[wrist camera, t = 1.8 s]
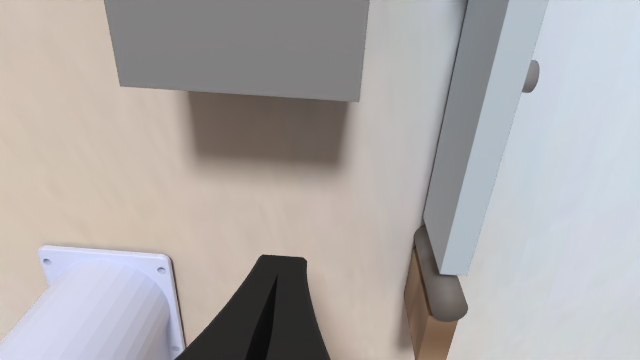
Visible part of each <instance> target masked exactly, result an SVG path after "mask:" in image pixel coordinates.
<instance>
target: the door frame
mask: <svg viewBox="0 0 640 360" xmlns="http://www.w3.org/2000/svg"><path fill="white" fill-rule="evenodd" d="M414 241H415V245H416V249H414V248H413V253H412V258H411V263H410V268H409V272H408V277H407V282H406V287H405V292H404V297H405V303H406V309H407V315H408V321H409V326H410V332H411V338H412V344H413V350H414V356H415V360H446V358H447V355H448V352H449V348H450V345H451V342H452V338H453V335H454V332H455V329H456V325H457V322H458V320H459V319H461V318H462V317H464V316H465V314H466V313H467V311H468V305H467V303H466V300H465V297H464V294H463V291H462V288H461V285H460V282H459V279H458V277H457V275H447V274H440V273H439V269H438V266H437V262H436V259H435V256H434V252H433V249H432V245H431V242H430V239H429V235H428V232H427V228H426V226H423V227H421V228H419V229H418V230H417V231H416V232H415V235H414Z"/></svg>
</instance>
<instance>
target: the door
mask: <svg viewBox="0 0 640 360" xmlns="http://www.w3.org/2000/svg"><path fill="white" fill-rule="evenodd" d="M548 1H549V0H468V5H467V10H466V14H465V19H464V24H463V29H462V34H461V38H460V43H459V48H458V53H457V57H456V62H455V67H454V72H453V77H452V81H451V86H450V91H449V96H448V101H447V105H446V110H445V115H444V120H443V125H442V129H441V134H440V139H439V144H438V148H437V153H436V158H435V163H434V168H433V172H432V177H431V182H430V187H429V192H428V196H427V201H426V206H425V211H424V216H423V218H424V222H425V225H426V228H427V232H428V235H429V239H430V242H431V245H432V249H433V252H434V256H435V259H436V262H437V266H438V269H439V273H440V274H447V275H460V276H467V274H468V271H469V268H470V264H471V261H472V258H473V254H474V251H475V247H476V244H477V241H478V237H479V234H480V231H481V227H482V224H483V220H484V217H485V214H486V210H487V207H488V204H489V200H490V197H491V194H492V190H493V187H494V183H495V180H496V177H497V173H498V170H499V167H500V163H501V160H502V156H503V153H504V150H505V146H506V143H507V140H508V136H509V133H510V130H511V126H512V123H513V119H514V116H515V113H516V109H517V106H518V103H519V99H520V96H521V92H525V93H530V92H532V91H533V89H534V88H535V86H536V84H537V82H538V78H539V64H538V62H537V61H535V60H531V59H532V55H533V52H534V49H535V45H536V42H537V39H538V35H539V32H540V28H541V25H542V22H543V18H544V15H545V12H546V8H547V5H548Z"/></svg>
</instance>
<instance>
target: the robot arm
mask: <svg viewBox="0 0 640 360" xmlns="http://www.w3.org/2000/svg"><path fill="white" fill-rule="evenodd" d="M37 254H38V257H39V260H40V262H41V265H42V268H43V271H44V273H45V276H46V279H47V282H48V284H49V288H48V289H47V290H46V291H45V292H44V293H43V294H42V295H41V297H40V298H39V299H38V300H37V301H36V302H35V303H34V304H33V306H32V307H31V308H30V309H29V310H28V311H27V312H26V314H25V315H24V316H23V317H22V318H21V319H20V320H19V321H18V323H17V324H16V325H15V326H14V327H13V328H12V329H11V330H10V332H9V333H8V334H7V335H6V336H5V337H4V338H3V340H2V341H1V342H0V360H331V359H330V357H329V355H328V352H327V350H326V347H325V344H324V342H323V339H322V336H321V333H320V330H319V327H318V324H317V321H316V317H315V314H314V310H313V306H312V302H311V298H310V293H309V288H308V282H307V261H306V260H305V259H304V258H303V257H289V256H276V255H262V256H260V257H259V258H258V260H257V262H256V264H255V265H254V267H253V268H252V270H251V272H250V273H249V274H248V276H247V277H246V279H245V280H244V282H243V283H242V284H241V286H240V287H239V289H238V290H237V291H236V292H235V294H234V295H233V296H232V298H231V299H230V300H229V302H228V303H227V304H226V305H225V307H224V308H223V309H222V310H221V311H220V312H219V314H218V315H217V316H216V317H215V318H214V319H213V320H212V322H211V323H210V324H209V325H208V326H207V327H206V328H205V329H204V331H203V332H202V333H201V334H200V335H199V336H198V337H197V338H196V339H195V340H194V341H193V342H192V343H191V344H190V345H189V346H188V347H187V348H186V349H185V344H184V338H183V332H182V326H181V319H180V313H179V307H178V301H177V295H176V289H175V283H174V277H173V271H172V264H171V260H170V258H169V257H168V256H166V255H164V254H155V253H142V252H129V251H115V250H102V249H89V248H75V247H62V246H49V245H45V246H42V247H41V248H40V249H39V250H38V252H37ZM50 260H51V261H50ZM161 267H162V268H164V269H165V270H164V269H162V268H161Z"/></svg>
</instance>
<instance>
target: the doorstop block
mask: <svg viewBox="0 0 640 360" xmlns="http://www.w3.org/2000/svg"><path fill="white" fill-rule="evenodd" d="M104 4H105V9H106V14H107V20H108V25H109V30H110V35H111V40H112V46H113V51H114V56H115V61H116V67H117V72H118V77H119V82H120V86H123V87H138V88H153V89H168V90H183V91H198V92H214V93H229V94H244V95H259V96H274V97H289V98H304V99H320V100H335V101H350V102H359V99H360V89H361V79H362V69H363V59H364V49H365V39H366V29H367V19H368V9H369V0H104Z"/></svg>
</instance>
